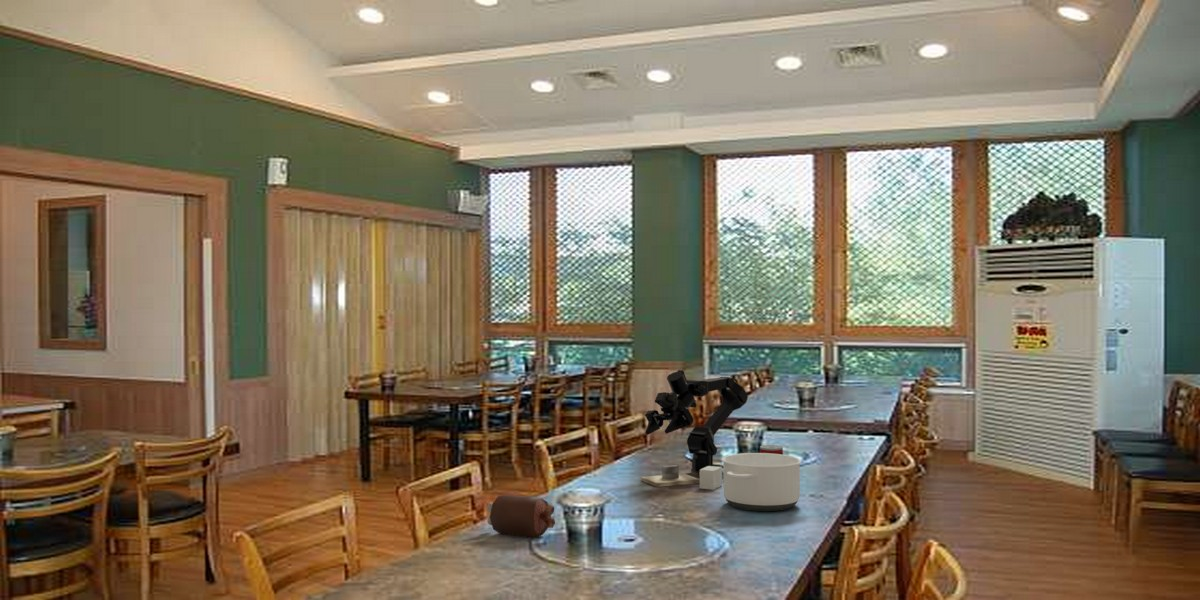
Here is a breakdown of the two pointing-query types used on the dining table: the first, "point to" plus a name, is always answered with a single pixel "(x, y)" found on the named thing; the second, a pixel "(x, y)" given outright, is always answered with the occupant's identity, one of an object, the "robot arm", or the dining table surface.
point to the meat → (520, 515)
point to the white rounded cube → (710, 477)
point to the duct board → (669, 481)
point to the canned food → (771, 449)
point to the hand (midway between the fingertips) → (655, 433)
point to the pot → (761, 481)
